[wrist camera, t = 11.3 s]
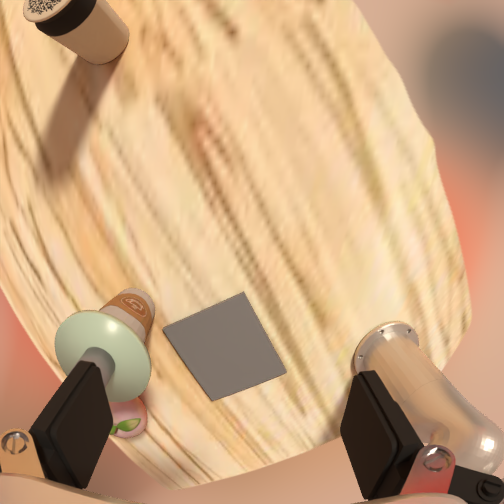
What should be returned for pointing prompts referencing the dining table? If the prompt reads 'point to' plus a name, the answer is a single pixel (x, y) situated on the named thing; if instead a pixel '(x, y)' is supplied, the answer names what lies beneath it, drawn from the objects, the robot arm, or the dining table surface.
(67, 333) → the lid
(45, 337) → the dining table surface
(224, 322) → the mat
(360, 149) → the dining table surface
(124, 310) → the coffee cup
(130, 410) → the decorative fruit
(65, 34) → the travel mug
